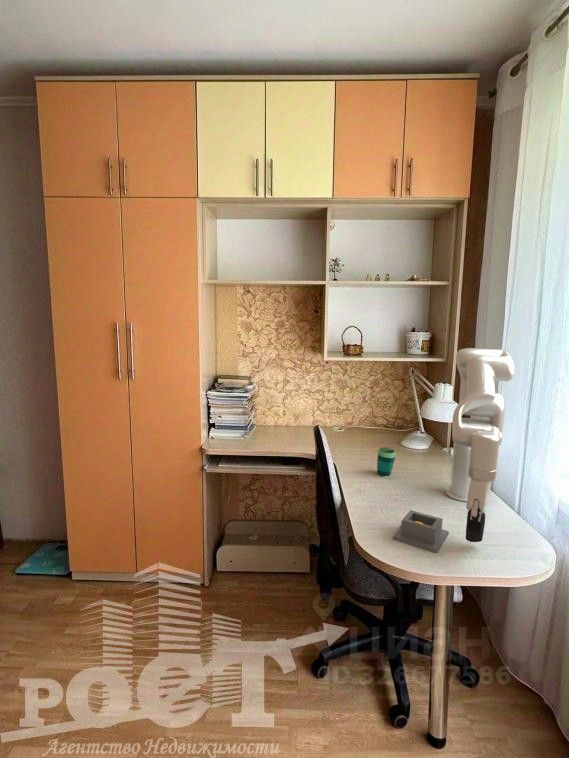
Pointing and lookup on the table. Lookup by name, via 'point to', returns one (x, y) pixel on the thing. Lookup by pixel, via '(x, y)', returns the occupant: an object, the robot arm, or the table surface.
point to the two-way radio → (472, 535)
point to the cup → (385, 461)
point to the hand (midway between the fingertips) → (476, 527)
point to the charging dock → (422, 531)
